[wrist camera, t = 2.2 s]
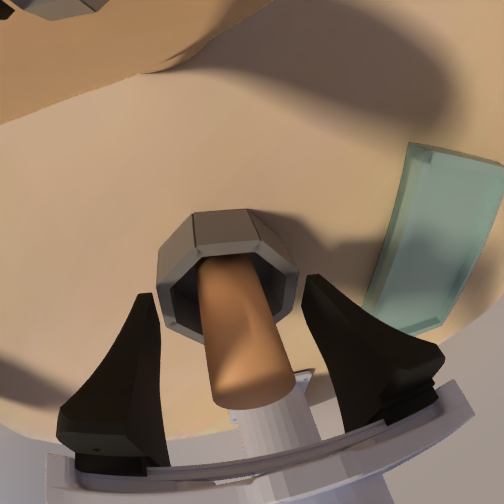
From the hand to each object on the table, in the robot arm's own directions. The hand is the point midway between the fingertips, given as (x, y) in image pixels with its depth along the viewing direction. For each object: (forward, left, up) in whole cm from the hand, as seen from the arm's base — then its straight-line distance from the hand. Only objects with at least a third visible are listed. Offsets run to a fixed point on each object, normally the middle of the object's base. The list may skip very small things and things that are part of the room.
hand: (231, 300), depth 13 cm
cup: (-1, 0, -4) cm, 4 cm away
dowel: (0, 0, -3) cm, 3 cm away
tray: (-2, -17, -4) cm, 18 cm away
